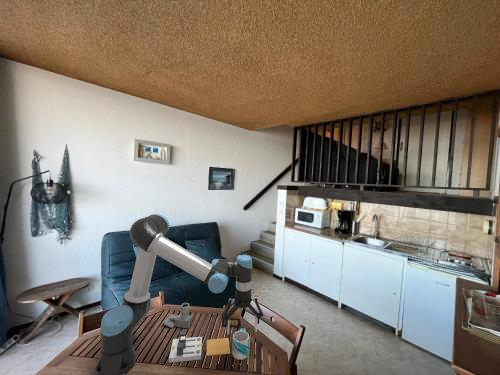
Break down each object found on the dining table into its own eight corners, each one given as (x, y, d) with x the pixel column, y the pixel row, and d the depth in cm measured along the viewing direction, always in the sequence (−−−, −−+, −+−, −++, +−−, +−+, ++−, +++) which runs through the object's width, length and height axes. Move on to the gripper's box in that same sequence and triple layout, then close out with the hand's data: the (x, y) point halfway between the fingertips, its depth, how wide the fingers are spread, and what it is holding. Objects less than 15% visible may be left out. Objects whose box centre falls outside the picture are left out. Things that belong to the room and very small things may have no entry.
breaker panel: (168, 362, 100) (169, 357, 100) (173, 343, 112) (173, 338, 112) (200, 359, 103) (201, 354, 102) (201, 340, 114) (201, 336, 114)
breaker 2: (179, 348, 105) (179, 340, 105) (180, 344, 108) (180, 336, 108) (185, 348, 106) (185, 339, 106) (185, 344, 108) (186, 335, 108)
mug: (230, 358, 104) (231, 340, 103) (234, 339, 116) (235, 324, 115) (248, 360, 103) (248, 342, 103) (250, 341, 115) (251, 325, 115)
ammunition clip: (240, 325, 127) (241, 304, 127) (240, 327, 125) (241, 306, 125) (222, 324, 128) (222, 303, 127) (221, 326, 126) (222, 305, 125)
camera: (187, 310, 120) (161, 306, 123) (186, 331, 120) (161, 327, 123) (194, 301, 128) (170, 298, 131) (194, 321, 129) (170, 317, 132)
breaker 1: (179, 342, 109) (179, 334, 109) (179, 339, 112) (179, 331, 111) (184, 342, 110) (184, 334, 109) (185, 338, 112) (185, 330, 112)
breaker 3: (176, 355, 101) (176, 347, 101) (177, 351, 104) (177, 342, 104) (182, 355, 102) (182, 346, 101) (183, 350, 104) (183, 342, 104)
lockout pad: (206, 356, 104) (206, 355, 104) (206, 340, 114) (206, 339, 114) (230, 353, 106) (230, 352, 106) (228, 338, 116) (228, 337, 116)
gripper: (217, 293, 102) (216, 338, 103) (270, 290, 107) (268, 334, 108) (217, 285, 110) (215, 328, 110) (266, 283, 114) (265, 323, 115)
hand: (242, 331), depth 109 cm, fingers open, 13 cm apart
